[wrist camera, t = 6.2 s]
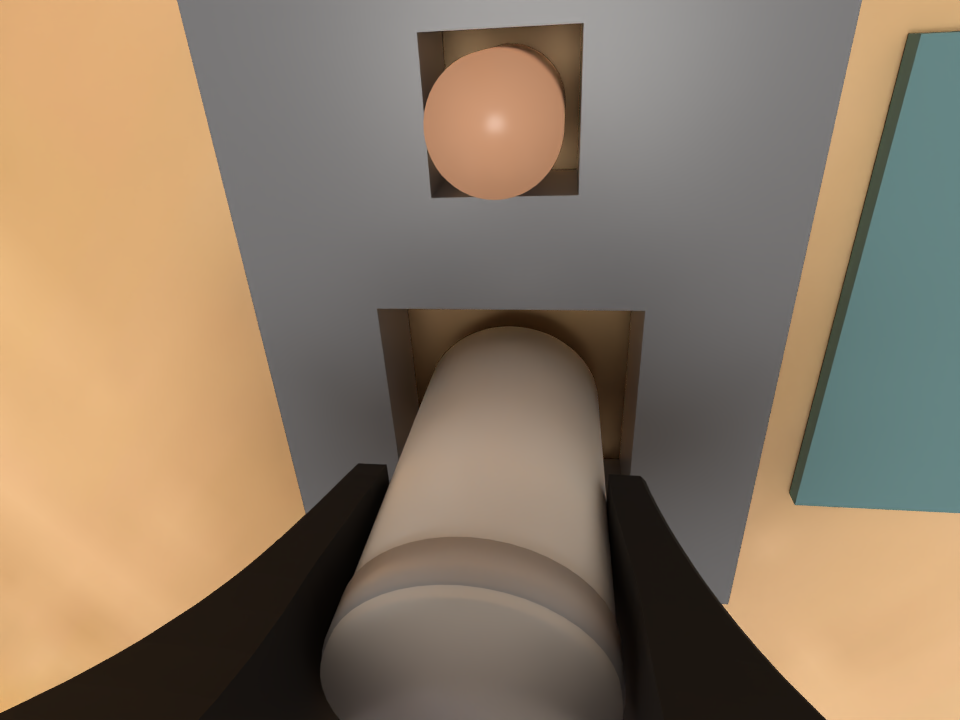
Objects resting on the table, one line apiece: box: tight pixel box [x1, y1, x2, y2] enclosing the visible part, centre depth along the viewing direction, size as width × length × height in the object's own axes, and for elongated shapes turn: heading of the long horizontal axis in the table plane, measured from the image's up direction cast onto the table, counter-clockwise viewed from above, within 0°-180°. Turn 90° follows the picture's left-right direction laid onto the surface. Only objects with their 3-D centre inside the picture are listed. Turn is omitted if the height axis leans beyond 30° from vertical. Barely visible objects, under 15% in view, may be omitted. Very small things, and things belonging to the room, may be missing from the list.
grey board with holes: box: [177, 0, 862, 604], centre depth 15 cm, size 16×12×2 cm
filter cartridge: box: [320, 326, 625, 720], centre depth 12 cm, size 4×4×8 cm
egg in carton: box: [423, 44, 565, 200], centre depth 12 cm, size 2×2×4 cm
